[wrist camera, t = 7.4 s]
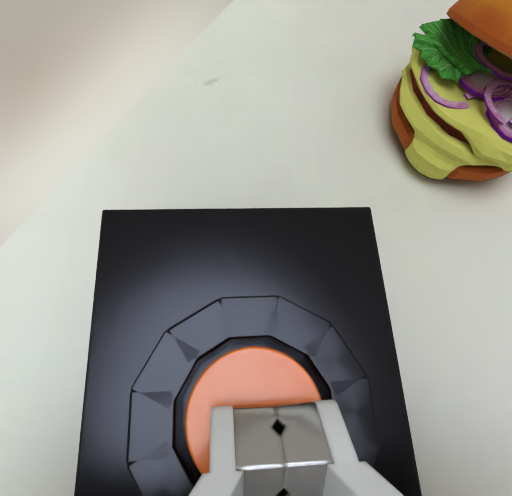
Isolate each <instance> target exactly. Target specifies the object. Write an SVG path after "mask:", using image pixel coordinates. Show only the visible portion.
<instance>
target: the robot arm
mask: <svg viewBox="0 0 512 496" xmlns="http://www.w3.org/2000/svg"><path fill="white" fill-rule="evenodd" d="M188 496H404V495H402V494H401V493H400V492H399V491H398V490H397V489H396V488H395V487H394V486H392V485H391V484H390V483H389V482H388V481H387V480H386V479H385V478H384V477H382V476H381V475H380V474H379V473H378V472H377V471H376V470H375V469H374V468H372V467H371V466H370V465H369V464H368V463H367V462H366V461H361V462H359V460H358V457H357V455H356V452H355V449H354V447H353V444H352V441H351V439H350V436H349V433H348V431H347V428H346V425H345V423H344V420H343V417H342V415H341V412H340V409H339V407H338V404H337V402H336V401H335V400H319V401H301V402H287V403H273V404H259V405H233V406H212V407H211V416H210V466H209V473H204V474H202V475H201V477H200V478H199V480H198V482H197V483H196V485H195V486H194V488H193V489H192V491H191V492H190V494H189V495H188Z"/></svg>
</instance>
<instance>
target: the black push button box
mask: <svg viewBox="0 0 512 496" xmlns="http://www.w3.org/2000/svg"><path fill="white" fill-rule="evenodd" d="M251 346H260V347H267V348H272V349H275V350H278V351H280V352H282V353H285V354H287V355H288V356H290V357H291V358H293V359H294V360H295V361H297V362H298V363H299V364H300V365H301V366H302V367H303V368H304V369H305V370H306V371H307V372H308V374H309V375H310V376H311V378H312V379H313V381H314V383H315V385H316V387H317V389H318V391H319V394H320V397H321V400H335V401H336V402H337V404H338V407H339V409H340V412H341V415H342V417H343V420H344V423H345V425H346V428H347V431H348V433H349V436H350V439H351V441H352V444H353V447H354V449H355V452H356V455H357V457H358V460H359V462H361V461H366V462H367V463H368V464H369V465H370V466H371V467H372V468H374V469H375V470H376V471H377V472H378V473H379V474H380V475H381V476H382V477H384V478H385V479H386V480H387V481H388V482H389V483H390V484H391V485H392V486H394V487H395V488H396V489H397V490H398V491H399V492H400V493H401V494H402V495H404V496H422V494H421V489H420V483H419V477H418V472H417V466H416V461H415V455H414V449H413V444H412V438H411V433H410V427H409V421H408V416H407V410H406V405H405V399H404V393H403V388H402V382H401V377H400V371H399V365H398V360H397V354H396V349H395V343H394V338H393V332H392V326H391V321H390V315H389V310H388V304H387V298H386V293H385V287H384V282H383V276H382V270H381V265H380V259H379V254H378V248H377V242H376V237H375V231H374V226H373V220H372V215H371V209H370V208H369V207H344V208H249V209H153V210H103V212H102V220H101V230H100V240H99V250H98V260H97V270H96V280H95V291H94V301H93V311H92V321H91V331H90V341H89V351H88V361H87V371H86V382H85V392H84V402H83V412H82V422H81V432H80V442H79V452H78V463H77V473H76V483H75V493H74V496H188V495H189V494H190V492H191V491H192V489H193V488H194V486H195V485H196V483H197V482H198V480H199V478H200V477H201V475H202V474H201V473H200V471H199V470H198V468H197V467H196V465H195V463H194V461H193V459H192V457H191V455H190V452H189V449H188V445H187V441H186V435H185V413H186V408H187V403H188V400H189V397H190V394H191V391H192V389H193V387H194V385H195V383H196V382H197V380H198V378H199V377H200V375H201V374H202V373H203V372H204V370H205V369H206V368H207V367H208V366H209V365H210V364H211V363H212V362H214V361H215V360H216V359H218V358H219V357H221V356H222V355H224V354H226V353H228V352H230V351H233V350H235V349H239V348H243V347H251Z"/></svg>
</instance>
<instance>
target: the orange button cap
mask: <svg viewBox="0 0 512 496" xmlns="http://www.w3.org/2000/svg"><path fill="white" fill-rule="evenodd" d="M319 400H321V397H320V394H319V391H318V389H317V387H316V385H315V383H314V381H313V379H312V378H311V376H310V375H309V374H308V372H307V371H306V370H305V369H304V368H303V367H302V366H301V365H300V364H299V363H298V362H297V361H295V360H294V359H293V358H291V357H290V356H288V355H287V354H285V353H282V352H280V351H278V350H275V349H272V348H267V347H260V346H251V347H243V348H239V349H235V350H233V351H230V352H228V353H226V354H224V355H222V356H221V357H219V358H218V359H216V360H215V361H214V362H212V363H211V364H210V365H209V366H208V367H207V368H206V369H205V370H204V372H203V373H202V374H201V375H200V377H199V378H198V380H197V382H196V383H195V385H194V387H193V389H192V391H191V394H190V397H189V400H188V403H187V408H186V413H185V435H186V441H187V445H188V449H189V452H190V455H191V457H192V459H193V461H194V463H195V465H196V467H197V468H198V470H199V471H200V473H201V474H204V473H209V466H210V416H211V407H212V406H233V405H259V404H273V403H287V402H301V401H319Z"/></svg>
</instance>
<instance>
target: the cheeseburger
mask: <svg viewBox="0 0 512 496" xmlns="http://www.w3.org/2000/svg"><path fill="white" fill-rule="evenodd" d="M447 15H448V16H449V17H450V19H440V20H439V21H435V22H430V23H426V24H422V25H421V26H420V28H421V30H422V31H423V32H424V33H425V34H426V35H427V36H426V35H422V34H418V33H414V34H412V36H415V39H414V42H413V46H412V56H411V59H410V62H409V64H408V65H407V67H406V68H405V69H404V70H403V71H402V77H401V79H400V81H399V83H398V85H397V88H396V90H395V92H394V95H393V98H392V101H391V115H392V125H393V127H394V129H395V131H396V133H397V135H398V137H399V139H400V141H401V143H402V145H403V147H404V148H405V149H406V150H405V154H406V157H407V159H408V160H409V162H410V164H411V165H412V166H413V167H414V168H415V169H416V170H417V171H418V172H419V173H421V174H423V175H425V176H427V177H429V178H433V179H444V178H445V177H448V178H450V179H460V180H471V181H483V180H487V179H492V178H496V177H501V176H503V175H505V174H507V173H509V172H512V0H459V1H457V2H456V3H455V4H454V5H453V6H452V7H451V8H450V9H449V10H448V12H447Z"/></svg>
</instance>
